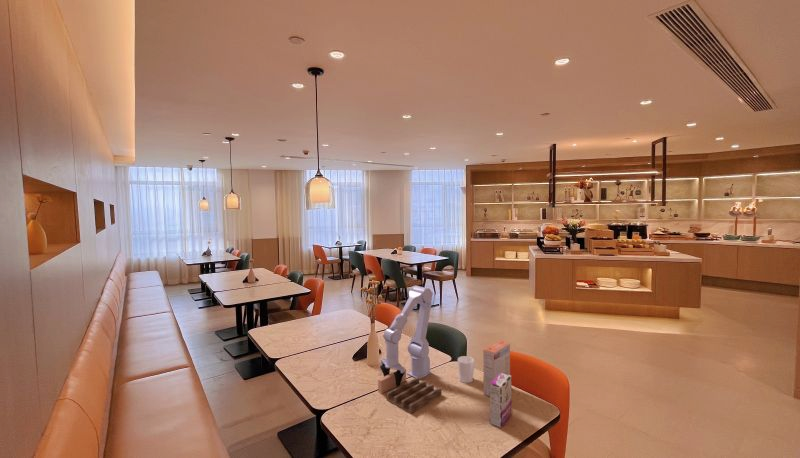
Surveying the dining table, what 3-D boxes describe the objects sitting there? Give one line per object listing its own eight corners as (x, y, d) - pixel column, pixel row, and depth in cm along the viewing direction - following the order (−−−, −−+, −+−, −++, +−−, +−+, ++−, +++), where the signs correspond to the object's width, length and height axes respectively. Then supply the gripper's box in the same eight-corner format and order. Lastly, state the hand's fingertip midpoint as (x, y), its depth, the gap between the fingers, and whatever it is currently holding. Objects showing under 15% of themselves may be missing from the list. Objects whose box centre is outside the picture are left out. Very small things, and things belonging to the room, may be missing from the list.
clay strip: (403, 379, 172) (402, 367, 171) (406, 381, 170) (405, 369, 170) (378, 392, 160) (378, 379, 160) (381, 393, 159) (381, 380, 158)
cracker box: (498, 383, 167) (499, 340, 166) (510, 387, 163) (511, 343, 162) (482, 394, 158) (482, 348, 156) (494, 399, 153) (494, 352, 152)
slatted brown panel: (417, 383, 167) (417, 376, 167) (441, 394, 157) (441, 387, 157) (387, 400, 153) (386, 393, 153) (410, 413, 143) (410, 406, 143)
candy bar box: (499, 410, 145) (500, 371, 144) (511, 414, 142) (512, 375, 141) (488, 424, 136) (489, 382, 135) (501, 429, 133) (501, 386, 132)
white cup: (461, 374, 176) (462, 354, 176) (476, 378, 172) (476, 358, 171) (454, 380, 170) (454, 360, 169) (469, 385, 165) (470, 364, 165)
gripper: (375, 352, 166) (375, 380, 167) (397, 362, 156) (397, 391, 157) (386, 348, 171) (386, 375, 172) (408, 357, 161) (408, 385, 162)
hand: (392, 382), depth 165 cm, fingers open, 7 cm apart
